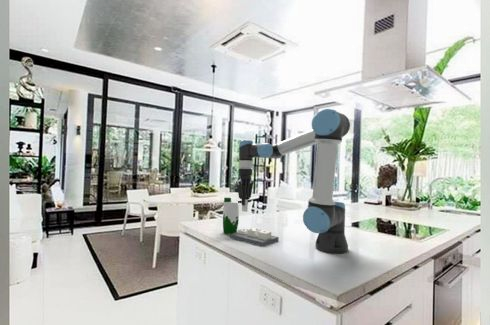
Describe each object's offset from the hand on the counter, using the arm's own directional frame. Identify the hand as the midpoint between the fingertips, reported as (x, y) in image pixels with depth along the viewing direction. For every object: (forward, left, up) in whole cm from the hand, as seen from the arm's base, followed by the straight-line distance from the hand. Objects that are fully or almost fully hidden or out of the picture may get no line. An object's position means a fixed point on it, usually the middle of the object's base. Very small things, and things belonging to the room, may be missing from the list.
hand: (244, 211), depth 150 cm
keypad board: (-7, 0, -14) cm, 16 cm away
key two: (-7, 0, -12) cm, 14 cm away
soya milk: (+12, -2, -14) cm, 19 cm away
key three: (0, 0, -14) cm, 14 cm away
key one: (-14, 0, -12) cm, 19 cm away
